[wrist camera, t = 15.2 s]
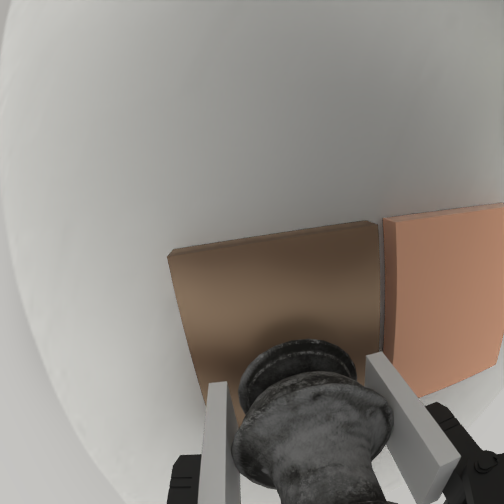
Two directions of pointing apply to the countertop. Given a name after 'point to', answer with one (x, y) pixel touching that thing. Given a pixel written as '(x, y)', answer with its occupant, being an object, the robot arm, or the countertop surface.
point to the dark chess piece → (310, 426)
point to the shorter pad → (278, 297)
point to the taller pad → (444, 294)
